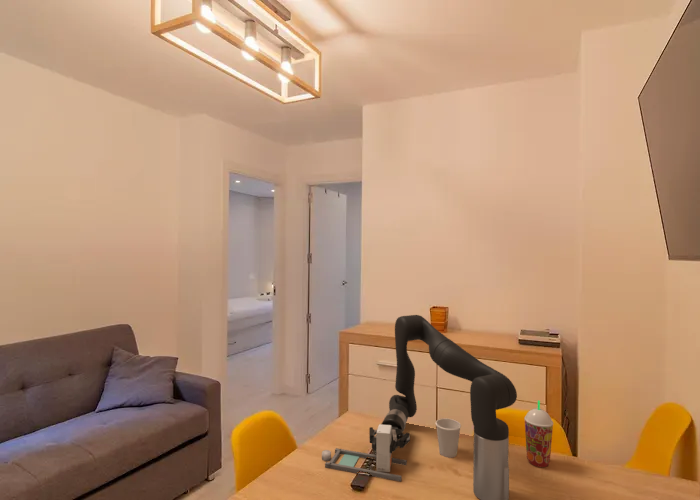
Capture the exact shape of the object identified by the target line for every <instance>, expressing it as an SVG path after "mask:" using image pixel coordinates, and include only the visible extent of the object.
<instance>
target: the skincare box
mask: <svg viewBox="0 0 700 500" xmlns="http://www.w3.org/2000/svg"><path fill="white" fill-rule="evenodd" d="M376 430H377V433H376V435H375V436H376V454H375V455H376V460H375V461H376V464H375V465H376V467H375V468H376V470H375V471H378V472H384V473H390V472H391V467H392V464H393V463H392V458H393V455H392V454H393V452H392V453H390V444H391V442H392V426H391V425H382V423H379V424H378V427H377V428H376Z"/></svg>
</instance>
